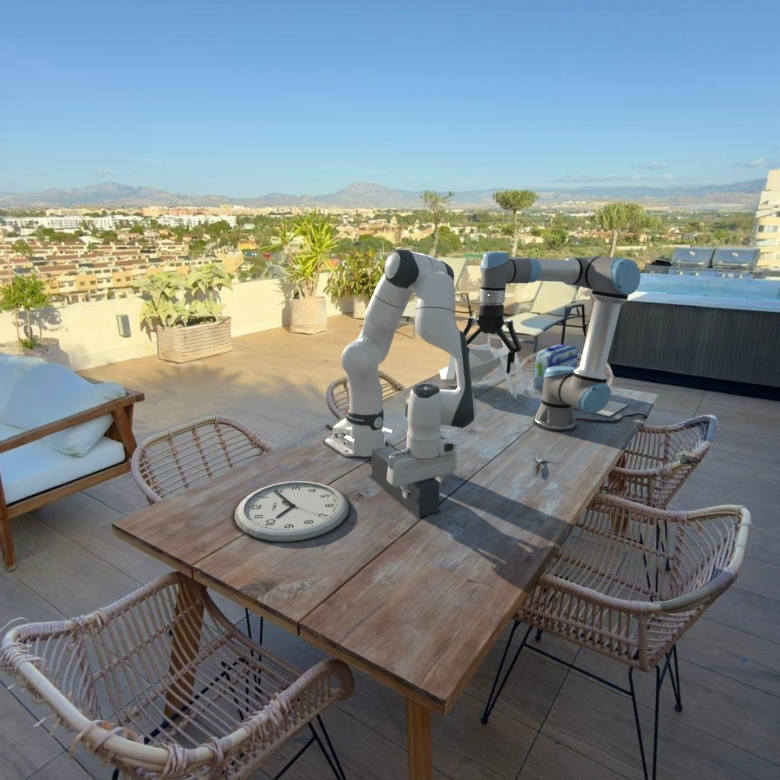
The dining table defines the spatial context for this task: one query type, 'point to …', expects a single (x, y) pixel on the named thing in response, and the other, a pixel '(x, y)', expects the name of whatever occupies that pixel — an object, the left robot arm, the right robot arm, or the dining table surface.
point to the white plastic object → (486, 366)
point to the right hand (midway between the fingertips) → (486, 370)
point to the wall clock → (291, 511)
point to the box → (421, 492)
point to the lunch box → (553, 361)
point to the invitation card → (611, 408)
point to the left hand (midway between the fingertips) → (421, 493)
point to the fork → (539, 461)
